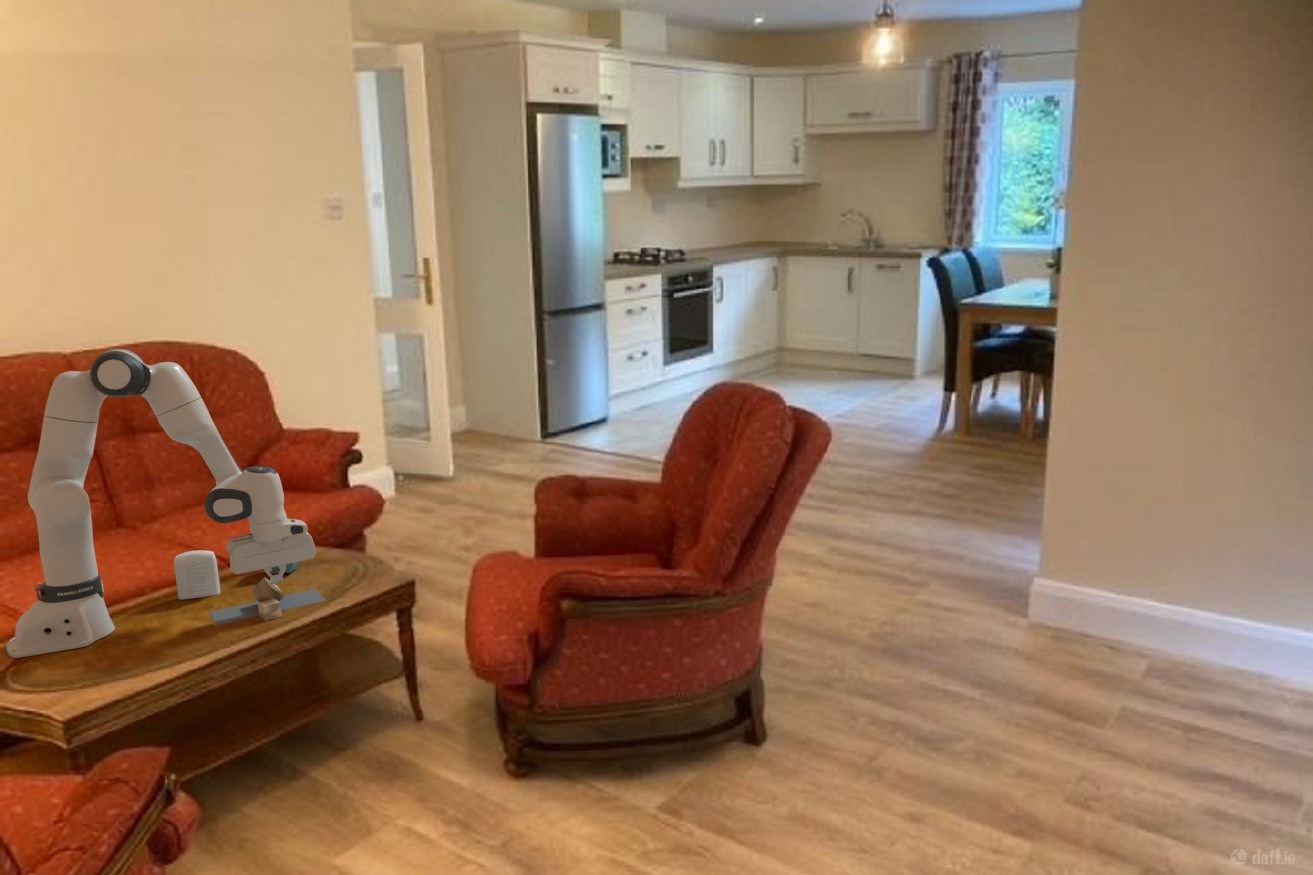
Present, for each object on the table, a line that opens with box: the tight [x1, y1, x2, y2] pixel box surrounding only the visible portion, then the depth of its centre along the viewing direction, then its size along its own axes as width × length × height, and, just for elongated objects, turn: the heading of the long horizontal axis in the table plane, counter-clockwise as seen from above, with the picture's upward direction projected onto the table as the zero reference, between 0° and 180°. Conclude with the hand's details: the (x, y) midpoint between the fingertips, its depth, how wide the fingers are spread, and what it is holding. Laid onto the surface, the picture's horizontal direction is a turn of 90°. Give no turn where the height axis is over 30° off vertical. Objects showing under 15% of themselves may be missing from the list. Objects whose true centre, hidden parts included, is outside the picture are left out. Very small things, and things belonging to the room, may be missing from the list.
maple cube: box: [258, 599, 283, 622], centre depth 251 cm, size 4×4×4 cm
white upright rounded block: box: [173, 549, 221, 601], centre depth 269 cm, size 10×4×12 cm, turn 107°
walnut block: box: [250, 576, 285, 602], centre depth 258 cm, size 4×8×5 cm
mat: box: [209, 588, 327, 626], centre depth 259 cm, size 26×11×1 cm, turn 122°
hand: (277, 582), depth 259 cm, fingers closed
